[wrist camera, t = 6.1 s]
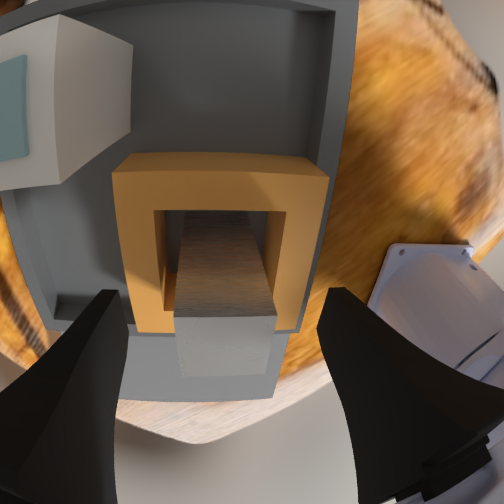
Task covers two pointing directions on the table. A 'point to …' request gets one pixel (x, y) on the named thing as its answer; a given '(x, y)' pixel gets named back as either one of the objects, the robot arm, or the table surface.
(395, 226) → the table surface
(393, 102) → the table surface
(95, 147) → the block
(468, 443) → the robot arm
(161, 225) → the grey rimmed tray
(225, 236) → the grey rectangular block
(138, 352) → the lid
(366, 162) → the table surface
